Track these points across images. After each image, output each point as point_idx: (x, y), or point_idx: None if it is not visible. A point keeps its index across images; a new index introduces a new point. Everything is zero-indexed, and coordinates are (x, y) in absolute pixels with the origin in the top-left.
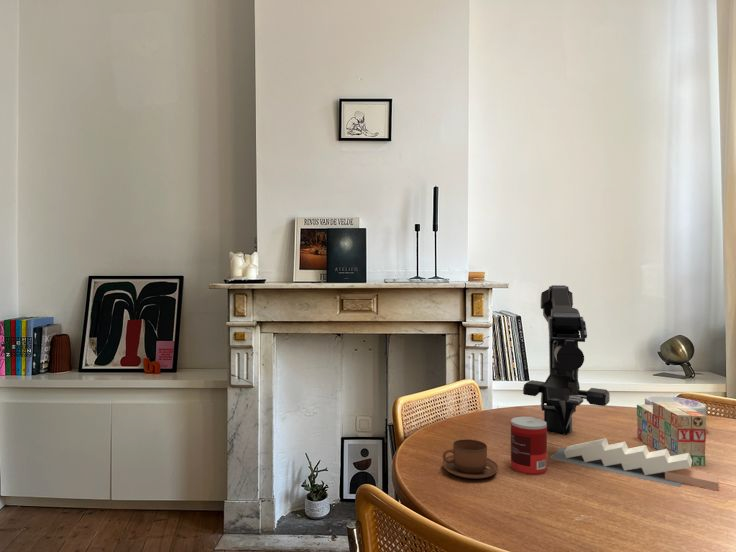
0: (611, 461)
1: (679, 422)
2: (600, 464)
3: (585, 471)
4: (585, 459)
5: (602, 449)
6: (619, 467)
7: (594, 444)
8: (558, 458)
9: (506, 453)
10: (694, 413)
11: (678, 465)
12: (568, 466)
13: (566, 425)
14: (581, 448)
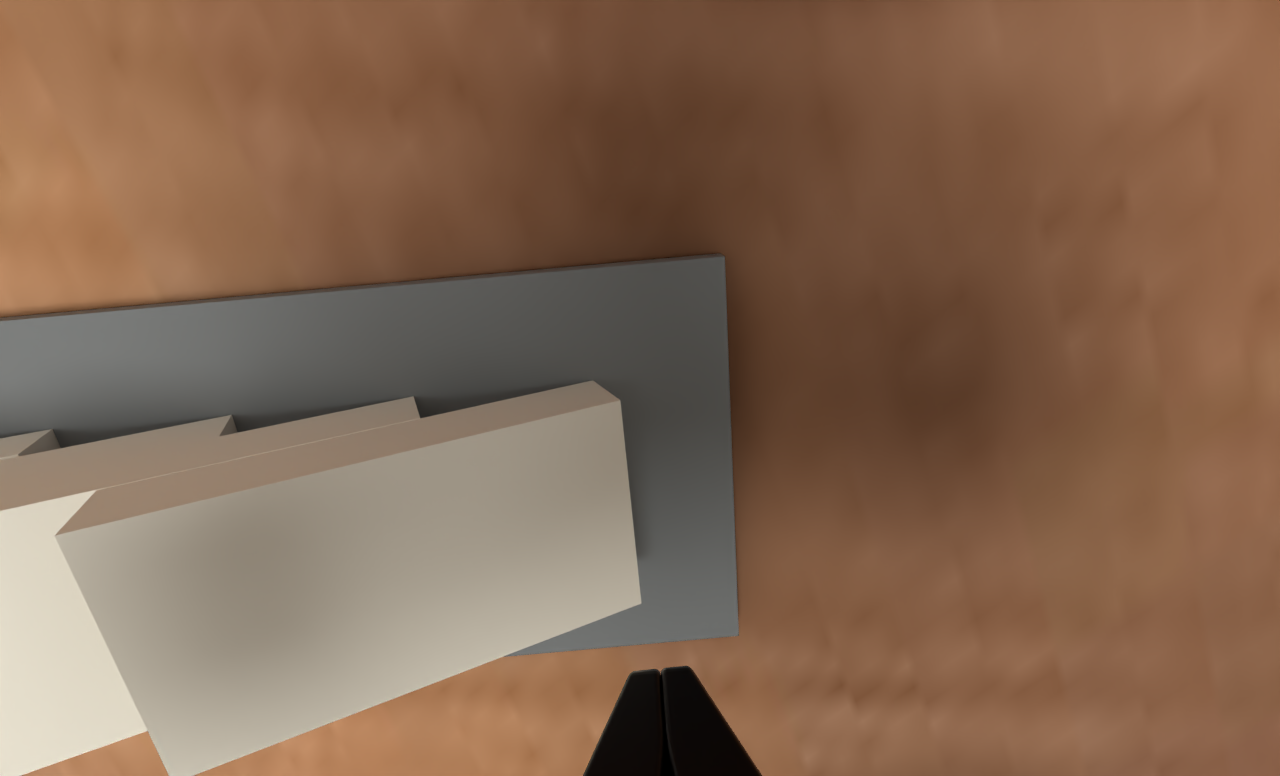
0: (115, 446)
1: None
2: None
3: (333, 213)
4: (394, 406)
5: (112, 491)
6: None
7: (210, 534)
8: (649, 315)
9: (1179, 144)
10: None
11: None
12: (516, 233)
13: (622, 711)
14: (397, 450)
